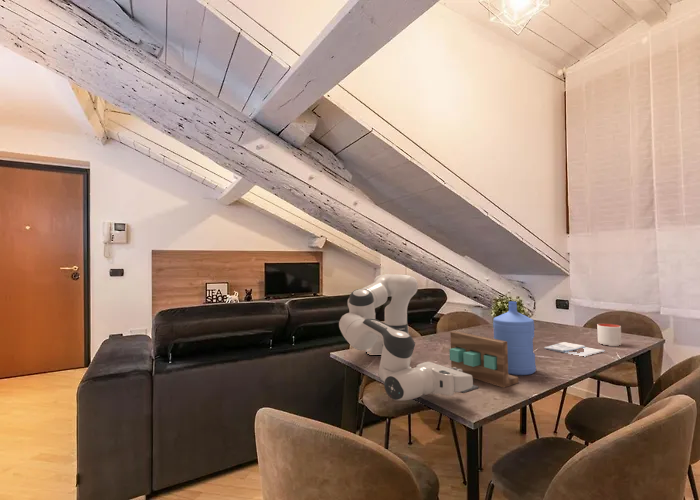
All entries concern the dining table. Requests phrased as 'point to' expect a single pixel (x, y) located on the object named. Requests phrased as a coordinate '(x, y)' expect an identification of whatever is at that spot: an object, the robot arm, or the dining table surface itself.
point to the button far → (457, 354)
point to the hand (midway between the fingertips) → (459, 370)
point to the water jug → (516, 340)
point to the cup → (609, 334)
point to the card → (470, 389)
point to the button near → (490, 361)
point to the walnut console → (485, 347)
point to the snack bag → (567, 347)
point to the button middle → (472, 358)
